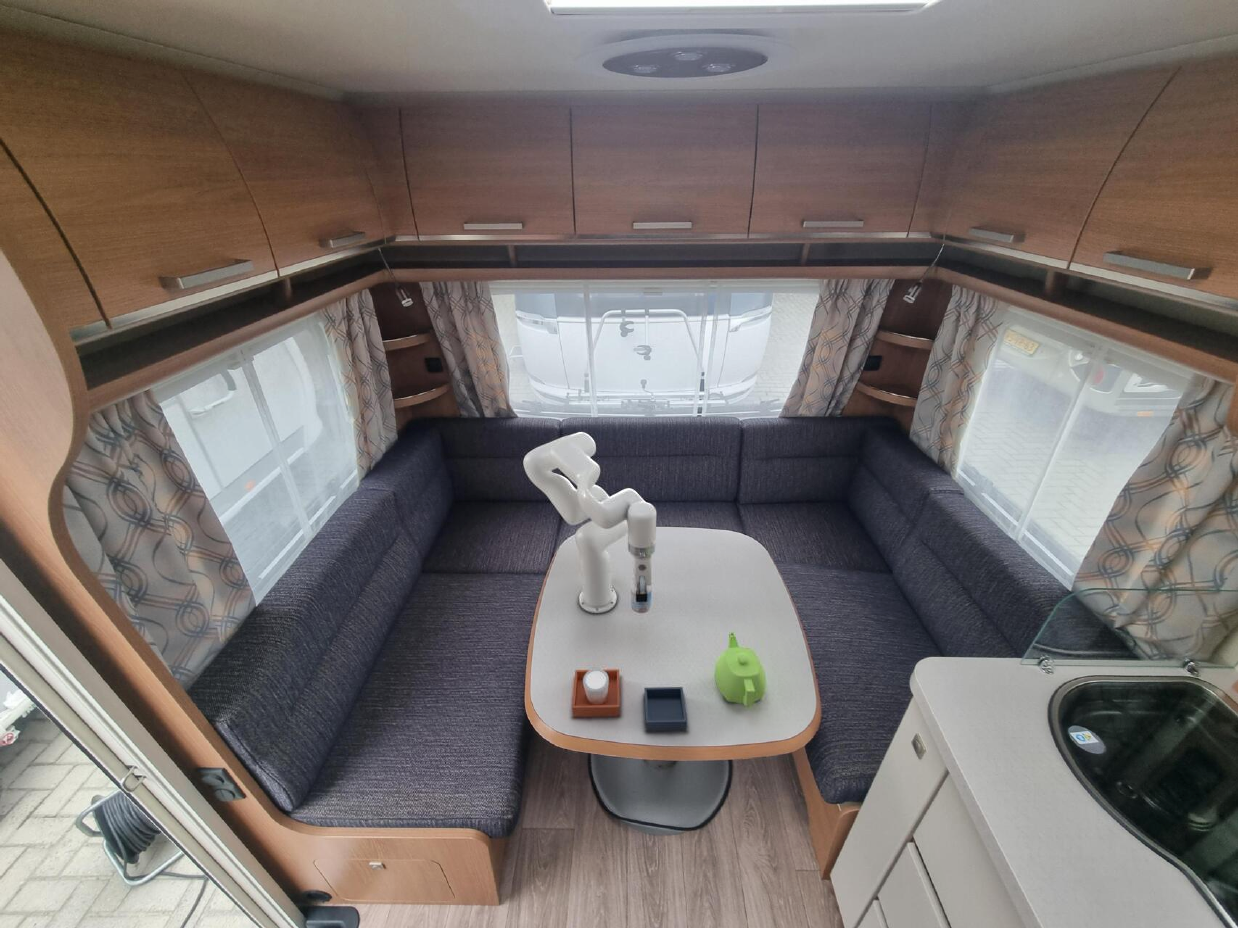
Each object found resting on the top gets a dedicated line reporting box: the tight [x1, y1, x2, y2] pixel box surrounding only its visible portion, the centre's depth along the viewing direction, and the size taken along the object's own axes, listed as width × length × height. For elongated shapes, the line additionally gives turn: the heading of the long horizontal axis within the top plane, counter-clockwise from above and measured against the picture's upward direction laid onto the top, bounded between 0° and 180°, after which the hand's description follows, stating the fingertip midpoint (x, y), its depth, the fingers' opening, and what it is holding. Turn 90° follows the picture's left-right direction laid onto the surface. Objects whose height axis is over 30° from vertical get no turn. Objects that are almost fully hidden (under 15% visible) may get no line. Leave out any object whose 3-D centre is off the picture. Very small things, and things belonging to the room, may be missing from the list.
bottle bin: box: [643, 686, 688, 732], centre depth 128 cm, size 10×10×4 cm
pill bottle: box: [630, 576, 652, 614], centre depth 141 cm, size 6×6×11 cm
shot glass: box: [583, 668, 609, 705], centre depth 131 cm, size 7×7×7 cm
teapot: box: [714, 631, 767, 708], centre depth 132 cm, size 20×13×13 cm
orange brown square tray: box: [571, 668, 621, 718], centre depth 132 cm, size 11×12×4 cm
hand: (641, 591), depth 141 cm, fingers closed on pill bottle, 6 cm apart
